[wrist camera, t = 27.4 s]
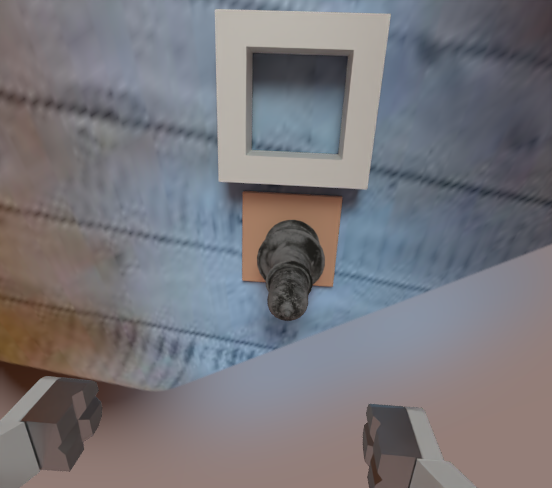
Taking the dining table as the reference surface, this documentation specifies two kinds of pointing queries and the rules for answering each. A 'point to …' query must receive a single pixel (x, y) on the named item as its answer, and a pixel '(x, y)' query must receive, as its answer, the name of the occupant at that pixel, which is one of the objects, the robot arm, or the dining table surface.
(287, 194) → the terracotta tile
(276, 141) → the dining table surface
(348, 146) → the socket block
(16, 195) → the dining table surface
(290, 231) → the dark turned stone ornament
